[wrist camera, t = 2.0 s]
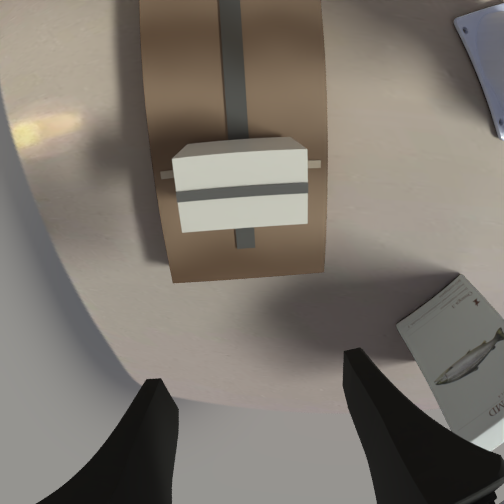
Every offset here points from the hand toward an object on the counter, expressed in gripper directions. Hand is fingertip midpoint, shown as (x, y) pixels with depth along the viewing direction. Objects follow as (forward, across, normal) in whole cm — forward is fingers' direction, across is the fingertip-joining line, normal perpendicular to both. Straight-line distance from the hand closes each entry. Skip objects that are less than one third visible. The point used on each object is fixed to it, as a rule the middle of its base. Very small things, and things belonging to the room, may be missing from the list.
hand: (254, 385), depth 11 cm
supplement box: (+11, -16, +10) cm, 21 cm away
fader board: (+10, -2, -12) cm, 16 cm away
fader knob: (+8, -1, -6) cm, 10 cm away
